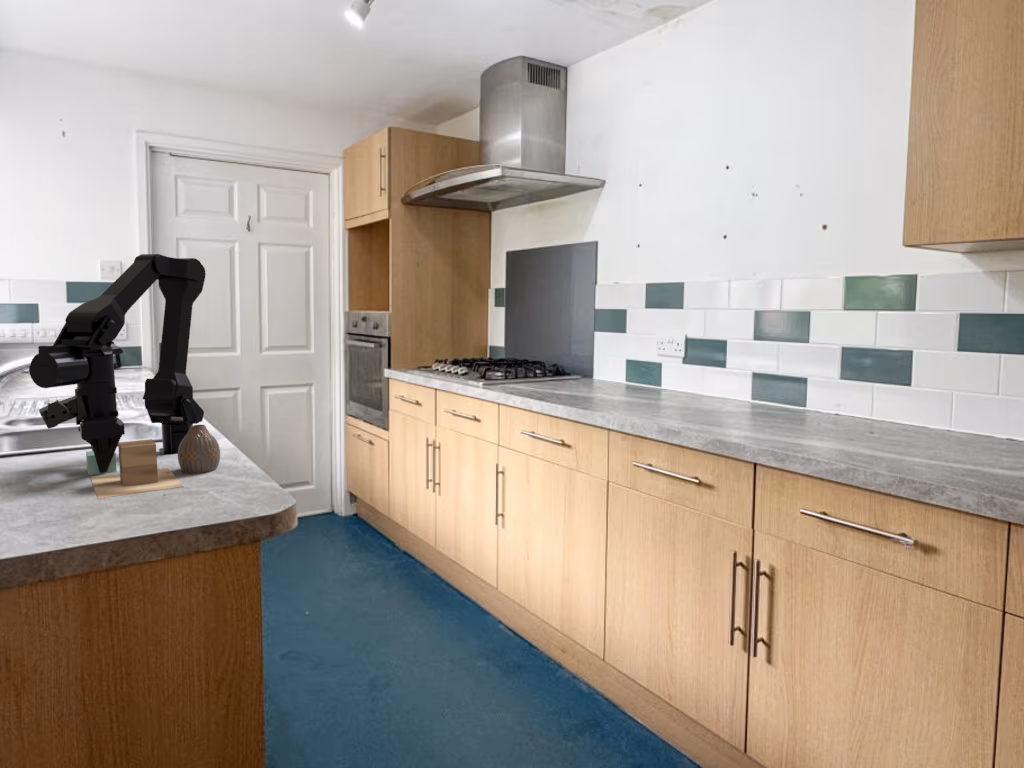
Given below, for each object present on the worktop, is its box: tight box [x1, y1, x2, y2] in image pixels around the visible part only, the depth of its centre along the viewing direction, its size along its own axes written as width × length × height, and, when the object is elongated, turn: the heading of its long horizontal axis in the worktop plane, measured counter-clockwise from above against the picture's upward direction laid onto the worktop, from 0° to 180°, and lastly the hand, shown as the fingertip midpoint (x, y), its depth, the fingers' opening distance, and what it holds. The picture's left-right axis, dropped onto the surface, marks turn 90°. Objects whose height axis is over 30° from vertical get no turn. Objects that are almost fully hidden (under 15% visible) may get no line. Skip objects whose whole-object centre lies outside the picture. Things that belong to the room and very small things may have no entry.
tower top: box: [117, 438, 158, 467], centre depth 116 cm, size 5×5×3 cm
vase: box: [177, 424, 221, 475], centre depth 125 cm, size 7×7×9 cm
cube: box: [85, 450, 118, 476], centre depth 124 cm, size 4×4×4 cm
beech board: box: [90, 467, 185, 500], centre depth 117 cm, size 16×12×1 cm
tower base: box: [118, 461, 158, 487], centre depth 117 cm, size 5×5×3 cm
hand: (101, 469), depth 124 cm, fingers open, 5 cm apart
